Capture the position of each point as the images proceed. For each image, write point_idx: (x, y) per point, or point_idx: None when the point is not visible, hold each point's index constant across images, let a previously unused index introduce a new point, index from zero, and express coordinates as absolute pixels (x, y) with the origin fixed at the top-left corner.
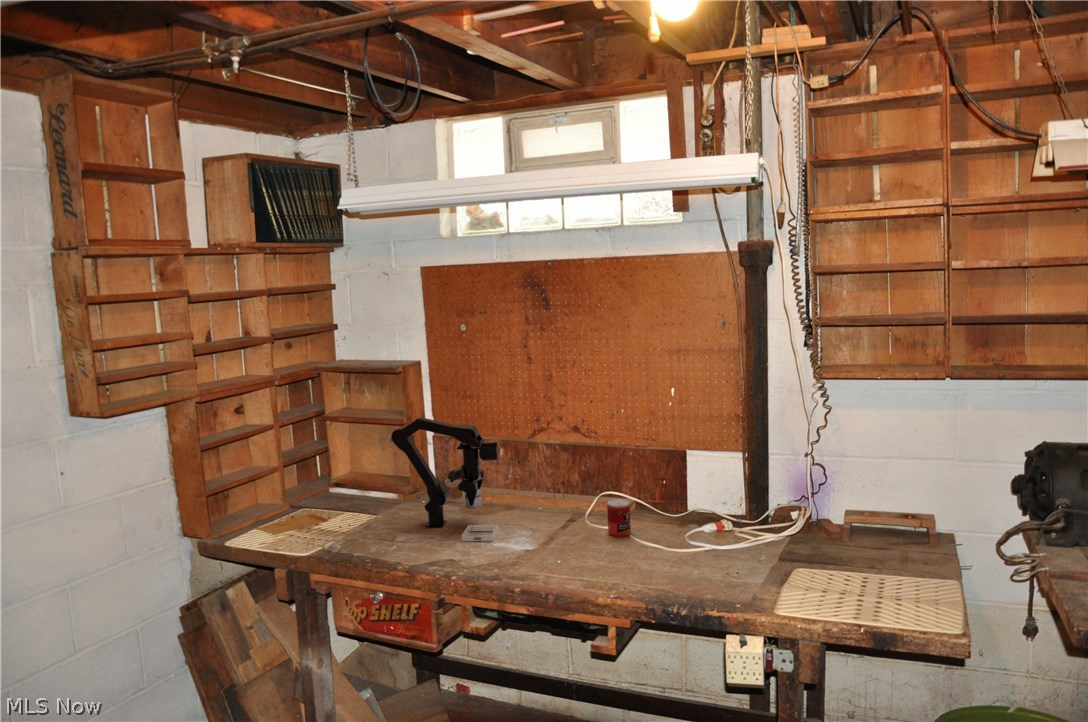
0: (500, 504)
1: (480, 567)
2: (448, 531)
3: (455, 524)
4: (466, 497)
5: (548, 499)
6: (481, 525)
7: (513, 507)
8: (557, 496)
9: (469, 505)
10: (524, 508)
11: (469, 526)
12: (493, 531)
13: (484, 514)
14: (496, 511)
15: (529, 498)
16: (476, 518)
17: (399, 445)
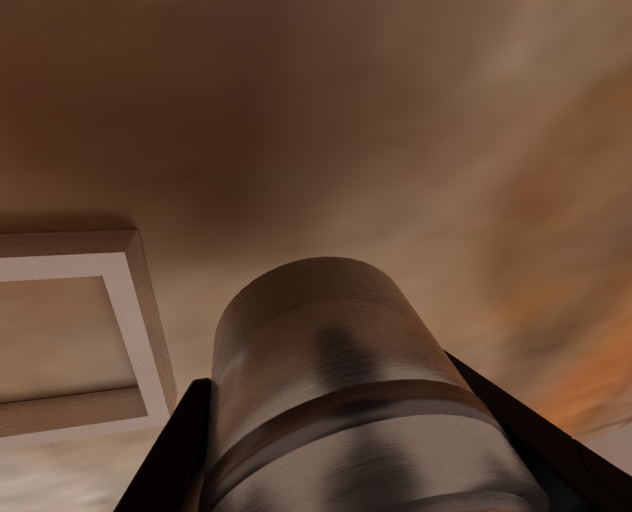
0: (618, 288)
1: None
2: (56, 25)
3: (294, 69)
4: (226, 452)
5: (574, 424)
6: (139, 344)
7: (541, 351)
8: (590, 435)
9: (215, 362)
10: (507, 390)
11: (87, 269)
12: (27, 437)
13: (487, 249)
14: (515, 298)
15: (625, 372)
16: (421, 219)
17: None
